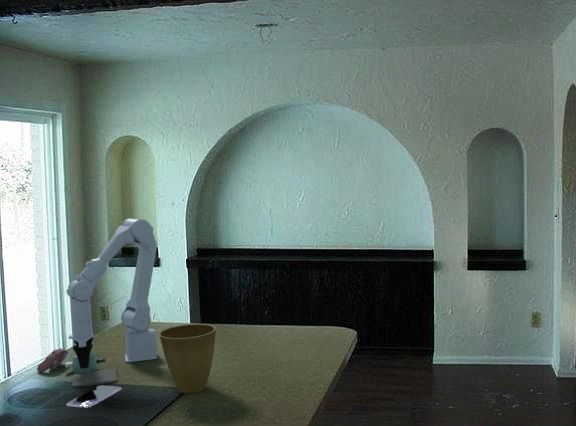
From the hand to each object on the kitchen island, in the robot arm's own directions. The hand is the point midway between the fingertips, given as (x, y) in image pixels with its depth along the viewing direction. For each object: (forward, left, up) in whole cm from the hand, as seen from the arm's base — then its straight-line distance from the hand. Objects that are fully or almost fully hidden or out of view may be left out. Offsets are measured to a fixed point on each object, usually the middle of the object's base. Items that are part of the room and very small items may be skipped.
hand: (84, 364), depth 199 cm
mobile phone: (-3, +26, -2) cm, 26 cm away
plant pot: (-28, +30, -2) cm, 41 cm away
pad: (-3, +10, -2) cm, 11 cm away
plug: (0, 0, -2) cm, 2 cm away
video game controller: (+9, -6, -2) cm, 11 cm away
